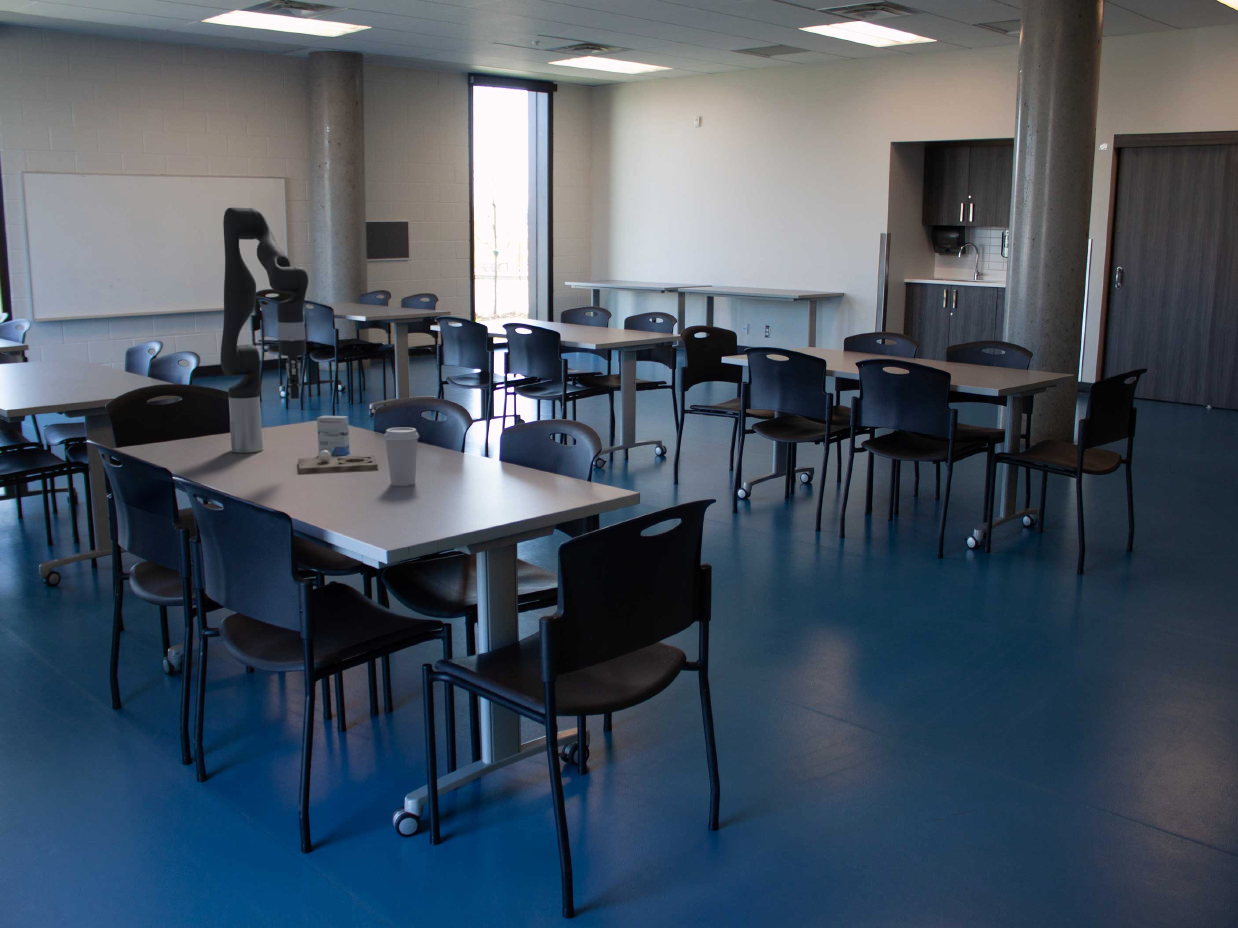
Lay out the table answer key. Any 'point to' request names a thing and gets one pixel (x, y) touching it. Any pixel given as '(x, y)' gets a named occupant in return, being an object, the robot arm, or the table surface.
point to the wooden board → (337, 464)
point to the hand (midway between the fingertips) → (295, 398)
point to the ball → (324, 456)
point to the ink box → (333, 434)
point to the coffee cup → (402, 455)
